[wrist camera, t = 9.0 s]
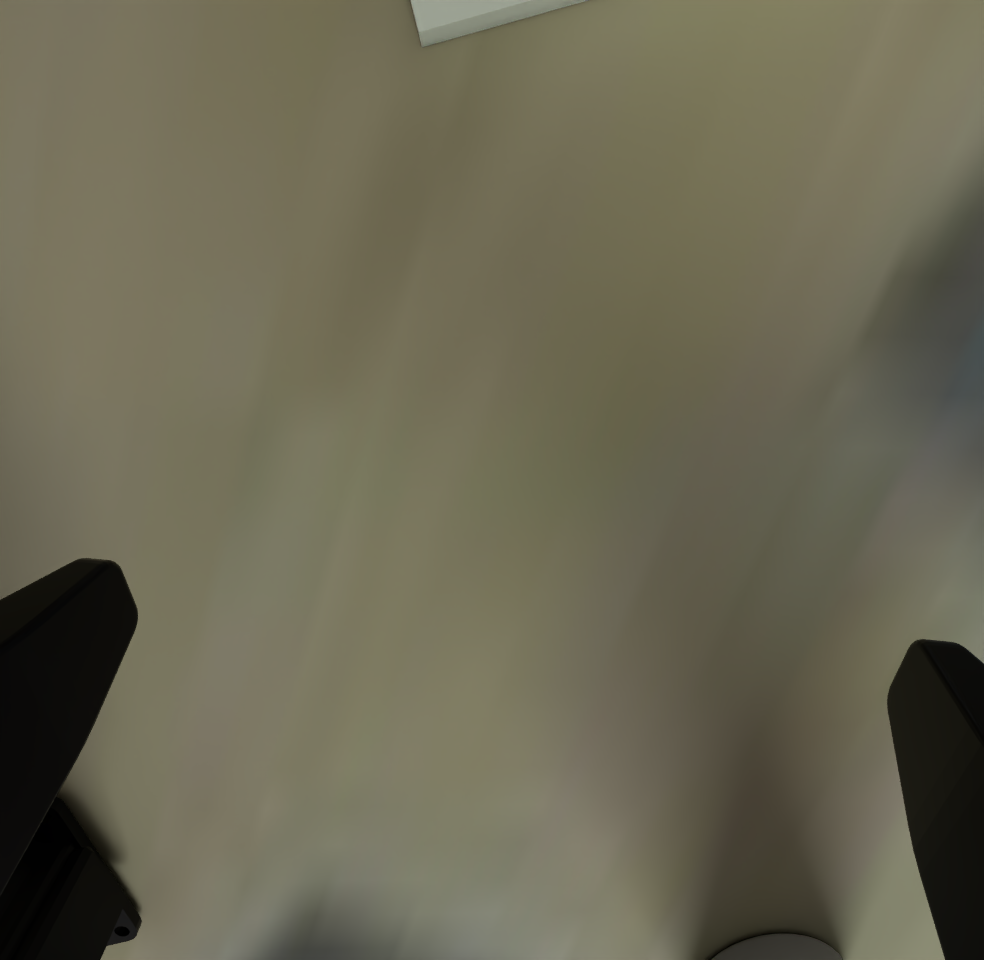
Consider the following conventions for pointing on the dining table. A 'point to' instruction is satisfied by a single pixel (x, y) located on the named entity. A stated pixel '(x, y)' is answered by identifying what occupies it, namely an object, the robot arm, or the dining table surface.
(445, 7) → the keeper dish
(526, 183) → the dining table surface
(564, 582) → the dining table surface
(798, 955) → the travel mug
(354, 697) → the dining table surface
